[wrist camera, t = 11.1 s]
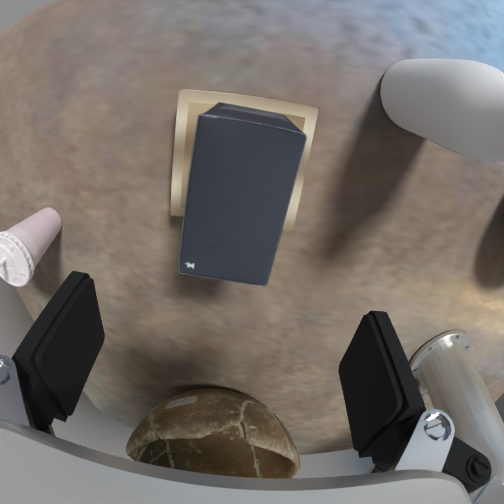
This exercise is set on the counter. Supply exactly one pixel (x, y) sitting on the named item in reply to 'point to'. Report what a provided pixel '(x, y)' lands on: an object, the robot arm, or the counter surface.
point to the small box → (238, 192)
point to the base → (202, 101)
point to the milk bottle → (449, 104)
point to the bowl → (215, 436)
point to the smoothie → (27, 245)
